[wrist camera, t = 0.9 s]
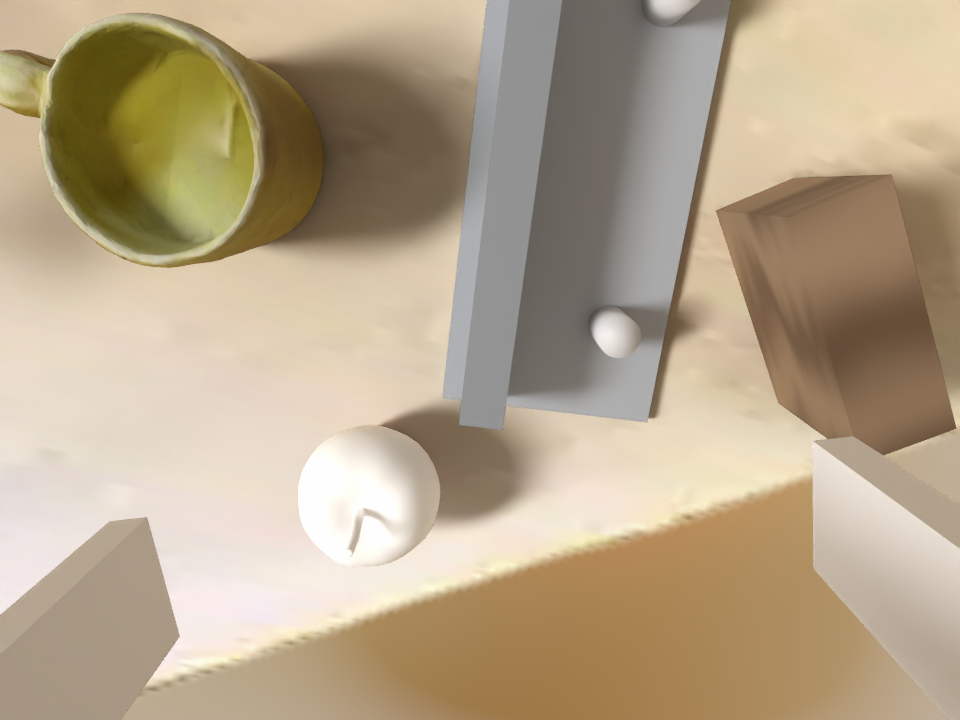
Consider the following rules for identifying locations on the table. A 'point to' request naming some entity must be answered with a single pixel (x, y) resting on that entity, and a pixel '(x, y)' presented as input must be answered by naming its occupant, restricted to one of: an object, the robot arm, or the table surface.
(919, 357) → the picture block
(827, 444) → the robot arm
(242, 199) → the mug
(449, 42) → the table surface
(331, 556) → the plain white apple
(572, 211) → the ledge
